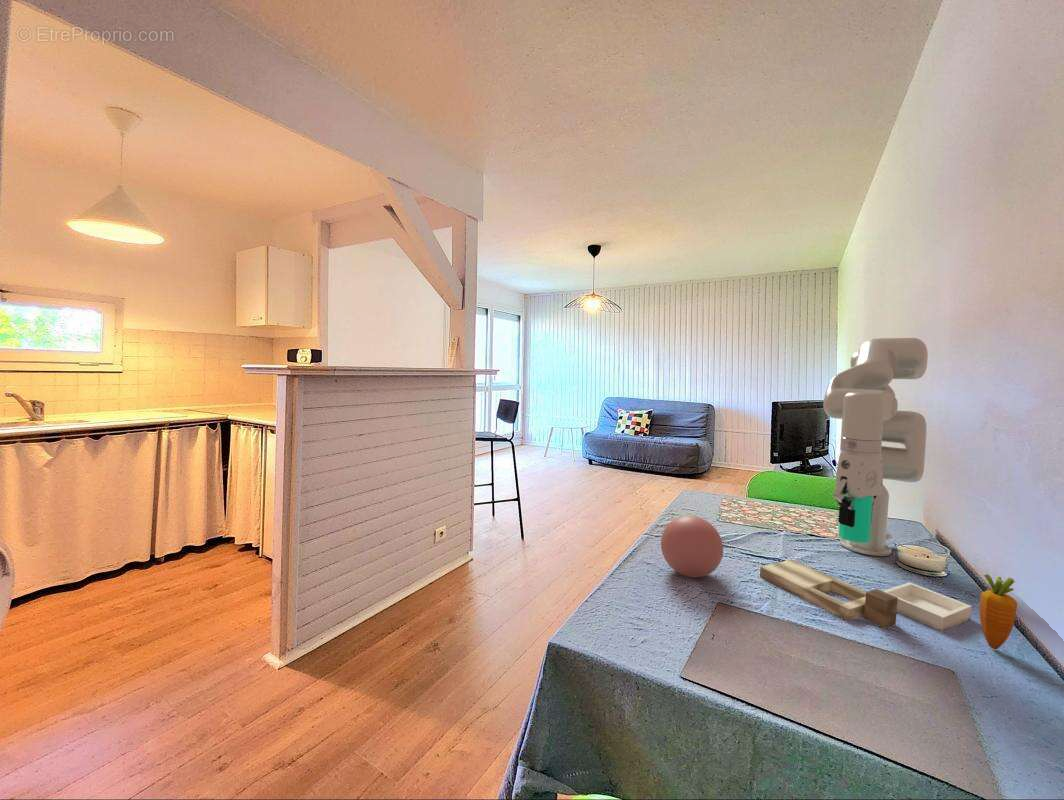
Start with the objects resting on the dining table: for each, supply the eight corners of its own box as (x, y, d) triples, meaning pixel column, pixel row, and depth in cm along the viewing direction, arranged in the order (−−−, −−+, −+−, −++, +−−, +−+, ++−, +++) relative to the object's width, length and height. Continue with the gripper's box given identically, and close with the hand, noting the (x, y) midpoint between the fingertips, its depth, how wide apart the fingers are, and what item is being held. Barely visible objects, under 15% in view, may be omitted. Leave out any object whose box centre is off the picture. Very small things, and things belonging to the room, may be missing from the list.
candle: (875, 544, 100) (878, 491, 99) (844, 541, 101) (847, 489, 100) (863, 534, 105) (866, 484, 105) (834, 531, 107) (836, 482, 106)
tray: (908, 594, 109) (909, 582, 108) (970, 619, 98) (971, 606, 98) (880, 603, 104) (881, 591, 104) (941, 631, 93) (943, 617, 93)
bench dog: (874, 614, 99) (876, 588, 99) (895, 624, 96) (897, 597, 95) (863, 618, 98) (865, 592, 97) (884, 628, 94) (886, 601, 94)
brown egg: (740, 570, 120) (743, 515, 119) (702, 595, 107) (705, 532, 106) (688, 552, 131) (690, 501, 130) (648, 572, 118) (650, 515, 117)
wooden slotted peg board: (791, 568, 122) (791, 559, 122) (881, 608, 102) (882, 598, 102) (759, 576, 117) (760, 566, 117) (848, 620, 97) (849, 609, 97)
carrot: (968, 641, 90) (975, 569, 89) (991, 640, 90) (998, 569, 89) (996, 658, 85) (1003, 582, 84) (1019, 656, 85) (1027, 581, 84)
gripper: (853, 451, 95) (847, 534, 97) (902, 446, 102) (895, 523, 103) (818, 445, 102) (814, 522, 104) (866, 440, 109) (861, 513, 110)
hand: (854, 522), depth 103 cm, fingers closed on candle, 5 cm apart
